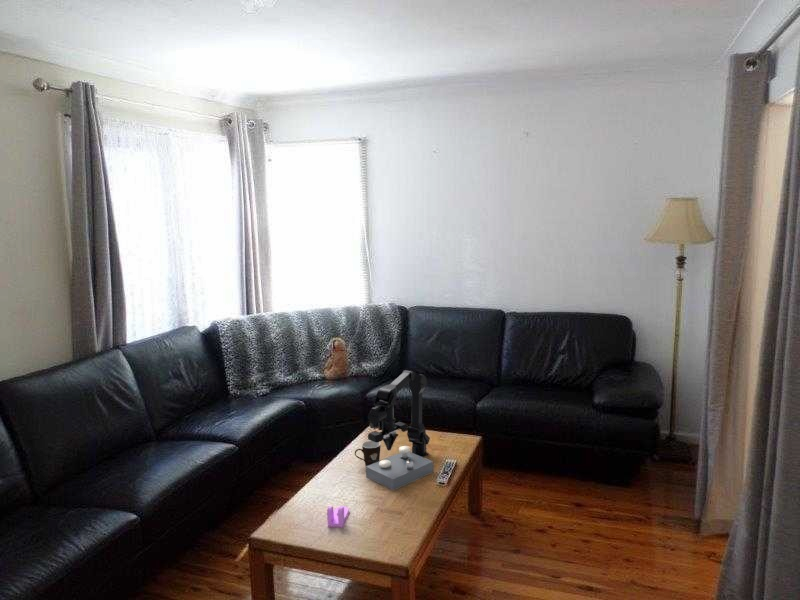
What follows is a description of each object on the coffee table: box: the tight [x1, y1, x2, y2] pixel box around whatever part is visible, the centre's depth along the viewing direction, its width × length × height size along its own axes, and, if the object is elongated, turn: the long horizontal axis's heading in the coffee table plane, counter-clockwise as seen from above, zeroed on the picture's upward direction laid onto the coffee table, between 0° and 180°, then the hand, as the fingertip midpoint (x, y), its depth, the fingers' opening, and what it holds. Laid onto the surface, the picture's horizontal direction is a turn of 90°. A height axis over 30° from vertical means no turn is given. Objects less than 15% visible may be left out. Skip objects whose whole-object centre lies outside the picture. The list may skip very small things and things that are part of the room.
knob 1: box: [379, 459, 391, 469], centre depth 257 cm, size 5×5×4 cm
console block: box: [365, 451, 434, 492], centre depth 259 cm, size 24×18×5 cm
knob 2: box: [398, 445, 411, 458], centre depth 264 cm, size 5×5×4 cm
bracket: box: [326, 505, 350, 528], centre depth 224 cm, size 13×6×7 cm, turn 171°
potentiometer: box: [406, 458, 413, 470], centre depth 253 cm, size 3×3×5 cm
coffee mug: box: [354, 440, 382, 467], centre depth 270 cm, size 12×9×10 cm
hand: (389, 450), depth 258 cm, fingers closed
